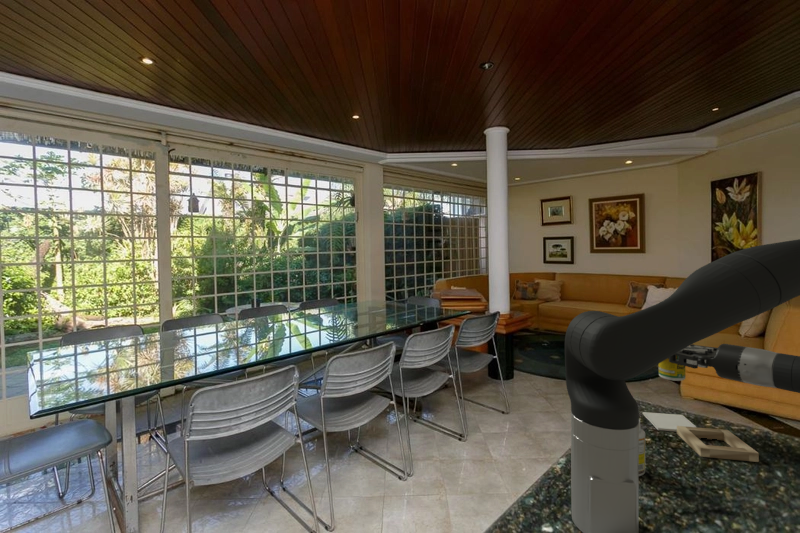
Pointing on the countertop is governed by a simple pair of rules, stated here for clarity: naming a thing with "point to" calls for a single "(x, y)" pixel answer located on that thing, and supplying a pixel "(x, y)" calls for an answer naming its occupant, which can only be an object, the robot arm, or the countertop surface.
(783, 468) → the countertop surface
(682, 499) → the countertop surface
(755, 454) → the socket block
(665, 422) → the coaster
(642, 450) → the supplement bottle
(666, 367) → the supplement bottle
